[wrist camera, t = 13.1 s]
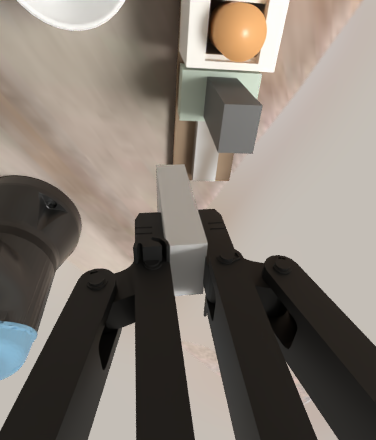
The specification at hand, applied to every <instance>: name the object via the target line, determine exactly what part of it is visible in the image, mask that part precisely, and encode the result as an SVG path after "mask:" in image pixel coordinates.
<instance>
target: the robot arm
mask: <svg viewBox="0 0 376 440" xmlns="http://www.w3.org/2000/svg"><path fill="white" fill-rule="evenodd" d="M156 176H157V211H158V212H156V213H139V215H138V216H137V218H136V219H135V243H134V247H133V252H134V262H133V264H132V265H131V266H130V267H129V268H127V269H126V270H123V271H121V272H118V273H115V274H114V273H112V272H111V271H109V270H106V269H93V270H90V271H88V272H86V273H84V274H83V275H82V276H81V277H80V278H79V280H78V281H77V283H76V285H75V287H74V289H73V291H72V293H71V295H70V297H69V299H68V301H67V303H66V305H65V307H64V308H63V311H62V312H61V314H60V316H59V318H58V320H57V322H56V324H55V326H54V328H53V330H52V332H51V334H50V336H49V338H48V339H47V341H46V343H45V345H44V348H43V349H42V351H41V353H40V355H39V357H38V359H37V361H36V363H35V365H34V367H33V369H32V370H31V372H30V375H29V376H28V379H27V380H26V382H25V384H24V386H23V388H22V390H21V392H20V394H19V396H18V398H17V400H16V402H15V403H14V405H13V407H12V409H11V411H10V413H9V415H8V417H7V419H6V421H5V423H4V425H3V427H2V429H1V431H0V440H88V436H89V433H90V430H91V427H92V424H93V421H94V417H95V414H96V411H97V408H98V405H99V401H100V398H101V395H102V392H103V388H104V385H105V382H106V379H107V375H108V372H109V369H110V366H111V363H112V359H113V356H114V353H115V350H116V347H117V343H118V340H119V337H120V334H121V330H122V327H124V326H127V325H129V324H132V323H135V344H136V345H135V348H136V349H135V351H136V353H135V354H136V355H135V356H136V440H195V438H194V432H193V431H194V430H193V424H192V416H191V410H190V402H189V396H188V388H187V381H186V374H185V367H184V359H183V352H182V345H181V338H180V330H179V324H178V316H177V309H176V302H175V296H182V295H193V294H203V288H205V293H206V297H205V307H204V316H206V315H208V319H209V324H210V328H211V332H212V337H213V341H214V345H215V350H216V355H217V359H218V364H219V368H220V372H221V377H222V381H223V385H224V390H225V394H226V399H227V403H228V408H229V412H230V417H231V421H232V426H233V430H234V434H235V439H236V440H317V437H316V435H315V432H314V430H313V428H312V425H311V423H310V420H309V418H308V415H307V413H306V410H305V408H304V405H303V403H302V400H301V398H300V395H299V393H298V390H297V388H296V386H295V383H294V381H293V378H292V376H291V373H290V371H289V369H288V366H287V364H288V365H289V367H290V368H291V370H292V371H293V372H294V374H295V376H296V377H297V379H298V380H299V382H300V383H301V385H302V386H303V388H304V389H305V390H306V392H307V393H308V395H309V396H310V398H311V399H312V401H313V402H314V404H315V405H316V407H317V408H318V410H319V411H320V413H321V414H322V416H323V417H324V418H325V420H326V422H327V423H328V424H329V426H330V428H331V429H332V430H333V432H334V433H335V435H336V436H337V438H338V439H339V440H376V346H375V345H374V344H373V343H372V342H371V341H370V340H369V339H368V338H367V337H366V336H365V335H364V334H363V333H362V332H361V331H360V329H359V328H358V327H357V326H356V325H355V324H354V323H353V322H352V321H351V320H350V319H349V318H348V317H347V316H346V315H345V314H344V313H343V312H342V311H341V309H340V308H339V307H338V306H337V305H336V304H335V303H334V302H333V301H332V300H331V299H330V298H329V297H328V296H327V295H326V294H325V293H324V292H323V291H322V290H321V288H320V287H319V286H318V285H317V284H316V283H315V282H314V281H313V280H312V279H311V278H310V277H309V276H308V275H307V274H306V273H305V272H304V271H303V269H302V268H301V267H300V266H299V265H298V264H297V263H296V262H294V261H293V260H292V259H290V258H288V257H285V256H280V255H276V256H271V257H269V258H267V259H266V261H265V263H259V262H253V261H249V260H246V259H244V258H243V256H242V255H241V253H240V252H238V251H237V250H235V249H234V247H233V244H232V242H231V239H230V237H229V234H228V232H227V229H226V226H225V224H224V221H223V219H222V216H221V214H219V213H218V212H217V211H216V210H215V209H203V210H198V209H197V205H196V202H195V198H194V195H193V192H192V188H191V185H190V181H189V178H188V175H187V171H186V168H185V164H180V165H156ZM81 227H82V224H81V218H80V214H79V212H78V210H77V208H76V206H75V205H74V203H73V202H72V201H71V200H70V199H69V198H68V197H67V196H66V195H65V194H64V193H63V192H62V191H60V190H59V189H57V188H56V187H54V186H52V185H50V184H48V183H46V182H44V181H41V180H38V179H34V178H30V177H24V176H6V177H1V178H0V380H2V379H5V378H7V377H9V376H10V375H12V374H14V373H15V372H16V371H17V370H19V369H20V368H21V366H22V365H23V363H24V362H25V360H26V358H27V356H28V353H29V351H30V348H31V345H32V343H33V342H34V340H35V339H36V337H37V331H38V328H39V325H40V321H41V318H42V315H43V311H44V308H45V305H46V301H47V298H48V295H49V291H50V288H51V285H52V282H53V278H54V275H55V272H56V270H57V269H58V268H59V267H60V266H61V265H62V263H63V262H64V261H65V260H66V259H67V257H68V256H69V255H70V254H71V253H72V252H73V251H74V249H75V248H76V246H77V243H78V241H79V237H80V233H81ZM286 362H287V364H286Z"/></svg>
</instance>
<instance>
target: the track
mask: <svg viewBox="0 0 376 440" xmlns="http://www.w3.org/2000/svg"><path fill="white" fill-rule="evenodd" d="M224 1H227V0H211V1H210V12H209V17H210V14H211V13H212V11H213V10H214V8H215V7H216V6H217V5H219V4H220V3H222V2H224ZM238 2H239V1H238ZM243 3H248V4H249V2H243ZM180 18H181V0H180V14H179V36H178V57H177V79H176V100H175V121H174V143H173V164H172V165H180V164H185V168H186V171H187V175H188V178H189V180H193V181H229V178H230V172H231V166H232V160H233V155H234V153H218V152H217V149H216V147H215V144H214V142H213V139H212V137H211V134H210V132H209V129H208V127H207V124H206V122H205V121H180V120H179V115H178V95H179V75H180V63H183V64H185V63H184V61H183V59H182V57H181V54H180V52H179V38H180ZM207 42H211V41H210V39H209V36H208V33H207Z"/></svg>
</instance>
